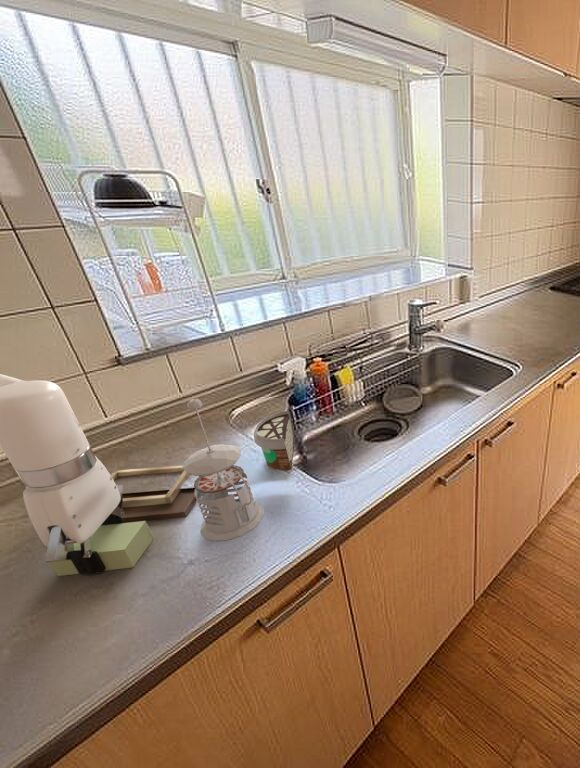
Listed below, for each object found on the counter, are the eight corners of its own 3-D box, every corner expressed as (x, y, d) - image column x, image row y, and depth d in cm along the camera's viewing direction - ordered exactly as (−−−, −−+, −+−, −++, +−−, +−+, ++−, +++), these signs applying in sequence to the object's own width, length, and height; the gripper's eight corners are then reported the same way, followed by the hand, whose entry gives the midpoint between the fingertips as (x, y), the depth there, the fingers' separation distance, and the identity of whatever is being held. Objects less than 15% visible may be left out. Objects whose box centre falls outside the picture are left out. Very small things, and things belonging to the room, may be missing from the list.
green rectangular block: (57, 576, 64) (46, 558, 62) (84, 545, 69) (74, 527, 68) (133, 567, 66) (124, 549, 64) (154, 538, 71) (145, 520, 70)
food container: (266, 450, 94) (256, 412, 90) (297, 446, 96) (288, 409, 92) (258, 486, 84) (247, 445, 79) (292, 480, 86) (283, 440, 82)
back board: (54, 529, 72) (47, 518, 71) (109, 473, 85) (104, 463, 84) (186, 516, 76) (181, 505, 75) (219, 465, 89) (216, 455, 88)
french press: (242, 494, 82) (207, 379, 70) (282, 516, 77) (251, 398, 66) (188, 526, 74) (138, 404, 63) (229, 553, 69) (183, 427, 58)
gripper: (70, 433, 66) (113, 517, 74) (-31, 511, 51) (37, 606, 59) (125, 430, 68) (162, 513, 76) (43, 505, 53) (100, 598, 61)
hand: (107, 553), depth 68 cm, fingers closed on green rectangular block, 6 cm apart
